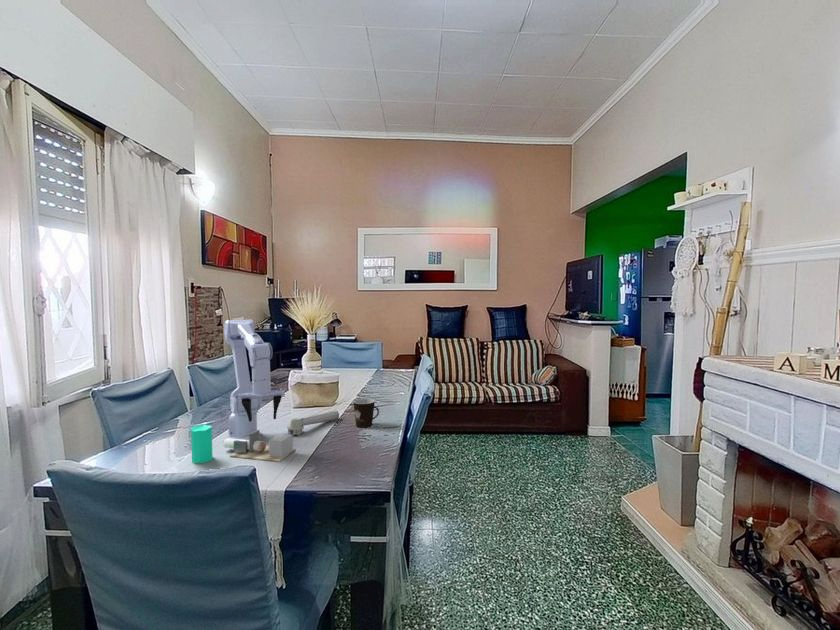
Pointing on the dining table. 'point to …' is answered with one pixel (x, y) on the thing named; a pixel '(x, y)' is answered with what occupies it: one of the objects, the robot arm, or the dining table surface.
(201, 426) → the candle
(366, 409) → the coffee mug
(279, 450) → the socket
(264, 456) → the board
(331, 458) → the dining table surface
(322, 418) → the grey capped rod
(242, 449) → the grey parallel plates
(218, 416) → the dining table surface
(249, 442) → the tube
